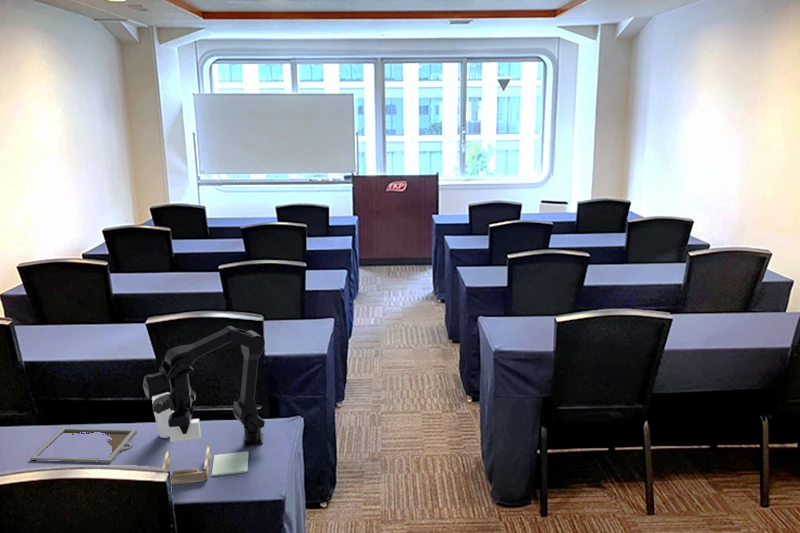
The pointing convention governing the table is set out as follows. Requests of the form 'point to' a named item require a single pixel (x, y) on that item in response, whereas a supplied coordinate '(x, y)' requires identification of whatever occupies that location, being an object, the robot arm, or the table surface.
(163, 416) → the drinking glass
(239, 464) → the mat
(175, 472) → the offcut stack
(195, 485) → the table surface
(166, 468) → the rack
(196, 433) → the white block
